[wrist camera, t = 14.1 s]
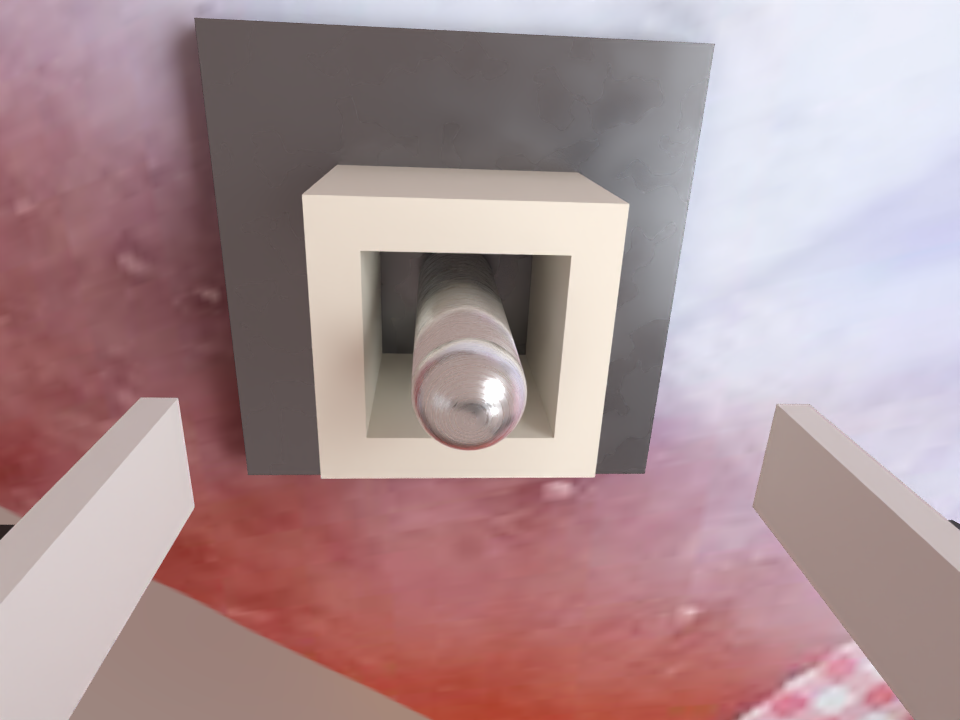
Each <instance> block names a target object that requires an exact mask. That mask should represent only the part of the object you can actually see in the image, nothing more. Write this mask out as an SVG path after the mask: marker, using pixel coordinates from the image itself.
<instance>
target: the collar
mask: <svg viewBox="0 0 960 720" xmlns="http://www.w3.org/2000/svg"><path fill="white" fill-rule="evenodd" d="M302 204H303V218H304V233H305V248H306V263H307V278H308V293H309V308H310V323H311V337H312V352H313V367H314V382H315V397H316V412H317V427H318V442H319V456H320V471H321V479H342V478H553V477H595V472H596V464H597V456H598V448H599V440H600V433H601V425H602V417H603V409H604V401H605V393H606V385H607V377H608V370H609V362H610V354H611V346H612V338H613V330H614V322H615V315H616V307H617V299H618V291H619V283H620V275H621V267H622V259H623V252H624V244H625V236H626V228H627V220H628V212H629V203H627V202H625V201H624V200H622V199H621V198H619V197H617V196H616V195H614V194H612V193H611V192H609V191H607V190H606V189H604V188H603V187H601V186H599V185H598V184H596V183H594V182H593V181H591V180H589V179H588V178H586V177H585V176H583V175H581V174H580V173H578V172H547V171H516V170H485V169H454V168H422V167H391V166H360V165H336V166H335V167H334V168H333V169H332V170H330V171H329V172H328V173H327V174H326V175H324V176H323V177H322V178H321V179H320V180H319V181H317V182H316V183H315V184H314V185H313V186H312V187H310V188H309V189H308V190H307V191H306V192H304V193H303V194H302ZM380 251H389V252H434V253H479V254H525V255H533V258H532V272H531V286H530V300H529V314H528V328H527V342H526V355H518V356H519V359H520V362H521V365H522V368H523V372H524V375H525V378H526V384H527V400H526V406H525V410H524V413H523V415H522V417H521V419H520V421H519V423H518V424H517V426H516V427H515V428H514V430H513V431H512V432H511V433H510V434H509V435H508V436H507V437H506V438H504V439H503V440H502V441H500V442H498V443H497V444H495V445H493V446H490V447H488V448H484V449H480V450H471V451H467V450H458V449H454V448H450V447H448V446H445V445H443V444H441V443H440V442H438V441H436V440H435V439H434V438H432V437H431V436H430V435H429V434H428V433H427V432H426V431H425V430H424V429H423V427H422V426H421V425H420V423H419V421H418V420H417V418H416V415H415V413H414V410H413V407H412V402H411V380H412V366H413V354H394V353H382V317H381V271H380Z"/></svg>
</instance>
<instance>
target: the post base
mask: <svg viewBox="0 0 960 720" xmlns="http://www.w3.org/2000/svg"><path fill="white" fill-rule="evenodd" d="M194 19H195V27H196V36H197V44H198V53H199V61H200V70H201V78H202V87H203V95H204V104H205V112H206V121H207V129H208V138H209V146H210V155H211V163H212V172H213V180H214V189H215V197H216V206H217V214H218V223H219V231H220V240H221V249H222V257H223V266H224V274H225V283H226V291H227V300H228V308H229V317H230V325H231V334H232V342H233V351H234V359H235V368H236V376H237V385H238V393H239V402H240V410H241V419H242V427H243V436H244V444H245V453H246V461H247V470H248V475H321V471H320V456H319V442H318V427H317V412H316V397H315V382H314V367H313V352H312V337H311V323H310V308H309V293H308V278H307V263H306V248H305V233H304V218H303V204H302V194H303V193H304V192H306V191H307V190H308V189H309V188H310V187H312V186H313V185H314V184H315V183H316V182H317V181H319V180H320V179H321V178H322V177H323V176H324V175H326V174H327V173H328V172H329V171H330V170H332V169H333V168H334V167H335V166H336V165H360V166H391V167H422V168H454V169H485V170H516V171H547V172H578V173H580V174H581V175H583V176H585V177H586V178H588V179H589V180H591V181H593V182H594V183H596V184H598V185H599V186H601V187H603V188H604V189H606V190H607V191H609V192H611V193H612V194H614V195H616V196H617V197H619V198H621V199H622V200H624V201H625V202H627V203H629V212H628V220H627V228H626V236H625V244H624V252H623V259H622V267H621V275H620V283H619V291H618V299H617V307H616V315H615V322H614V330H613V338H612V346H611V354H610V362H609V370H608V377H607V385H606V393H605V401H604V409H603V417H602V425H601V433H600V440H599V448H598V456H597V464H596V472H595V474H645V468H646V462H647V456H648V450H649V444H650V438H651V432H652V425H653V419H654V413H655V407H656V401H657V395H658V389H659V382H660V376H661V370H662V364H663V358H664V352H665V346H666V340H667V333H668V327H669V321H670V315H671V309H672V303H673V297H674V291H675V284H676V278H677V272H678V266H679V260H680V254H681V248H682V242H683V235H684V229H685V223H686V217H687V211H688V205H689V199H690V193H691V186H692V180H693V174H694V168H695V162H696V156H697V150H698V143H699V137H700V131H701V125H702V119H703V113H704V107H705V101H706V94H707V88H708V82H709V76H710V70H711V64H712V58H713V52H714V45H715V44H708V43H688V42H668V41H648V40H628V39H608V38H588V37H568V36H547V35H527V34H507V33H487V32H467V31H447V30H427V29H407V28H386V27H366V26H346V25H326V24H306V23H286V22H266V21H246V20H226V19H205V18H194ZM532 258H533V255H525V254H479V253H434V252H389V251H380V271H381V317H382V353H394V354H413V366H412V380H411V402H412V407H413V410H414V413H415V415H416V418H417V420H418V421H419V423H420V425H421V426H422V427H423V429H424V430H425V431H426V432H427V433H428V434H429V435H430V436H431V437H432V438H434V439H435V440H436V441H438V442H440V443H441V444H443V445H445V446H448V447H450V448H454V449H458V450H467V451H471V450H480V449H484V448H488V447H490V446H493V445H495V444H497V443H498V442H500V441H502V440H503V439H504V438H506V437H507V436H508V435H509V434H510V433H511V432H512V431H513V430H514V428H515V427H516V426H517V424H518V423H519V421H520V419H521V417H522V415H523V413H524V410H525V406H526V400H527V384H526V378H525V375H524V372H523V368H522V365H521V362H520V359H519V356H518V355H526V342H527V328H528V314H529V300H530V286H531V272H532Z"/></svg>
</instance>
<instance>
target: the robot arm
mask: <svg viewBox="0 0 960 720" xmlns="http://www.w3.org/2000/svg"><path fill="white" fill-rule="evenodd" d="M194 507H195V506H194V499H193V493H192V486H191V479H190V473H189V466H188V460H187V453H186V447H185V440H184V433H183V427H182V420H181V414H180V407H179V400H178V398H140V399H139V400H138V401H137V402H136V403H135V404H134V405H133V406H132V407H131V408H130V409H129V410H128V411H127V412H126V413H125V414H124V415H123V416H122V417H121V418H120V419H119V420H118V421H117V422H116V423H115V424H114V425H113V426H112V427H111V428H110V429H109V430H108V431H107V432H106V433H105V434H104V435H103V436H102V437H101V438H100V439H99V440H98V441H97V442H96V443H95V445H94V446H93V447H92V448H91V449H90V450H89V451H88V452H87V453H86V454H85V455H84V456H83V457H82V458H81V459H80V460H79V461H78V462H77V463H76V464H75V465H74V466H73V467H72V468H71V469H70V470H69V471H68V472H67V473H66V474H65V475H64V476H63V477H62V478H61V479H60V480H59V481H58V482H57V483H56V484H55V485H54V486H53V487H52V488H51V489H50V490H49V491H48V492H47V493H46V494H45V495H44V496H43V497H42V498H41V499H40V500H39V501H38V502H37V503H36V504H35V505H34V506H33V507H32V508H31V509H30V510H29V511H28V512H27V513H26V514H25V515H24V516H23V518H22V519H21V520H20V521H19V522H18V523H17V524H16V525H0V720H69V718H70V716H71V715H72V713H73V711H74V710H75V708H76V706H77V705H78V703H79V701H80V699H81V698H82V696H83V694H84V693H85V691H86V689H87V687H88V686H89V684H90V683H91V681H92V679H93V678H94V676H95V674H96V673H97V671H98V669H99V667H100V666H101V664H102V662H103V661H104V659H105V657H106V656H107V654H108V652H109V650H110V649H111V647H112V645H113V644H114V642H115V641H116V639H117V637H118V635H119V634H120V632H121V630H122V629H123V627H124V625H125V624H126V622H127V620H128V618H129V617H130V615H131V614H132V612H133V610H134V608H135V607H136V605H137V603H138V602H139V600H140V598H141V597H142V595H143V593H144V592H145V590H146V588H147V587H148V585H149V583H150V582H151V580H152V578H153V577H154V575H155V573H156V571H157V570H158V568H159V566H160V565H161V563H162V561H163V560H164V558H165V556H166V555H167V553H168V551H169V550H170V548H171V546H172V545H173V543H174V541H175V539H176V538H177V536H178V534H179V533H180V531H181V529H182V528H183V526H184V524H185V523H186V521H187V519H188V518H189V516H190V514H191V513H192V511H193V509H194ZM753 508H754V509H755V510H756V512H757V513H758V514H759V516H760V517H761V518H762V520H763V521H764V522H765V524H766V525H767V526H768V528H769V529H770V530H771V532H772V533H773V534H774V536H775V537H776V538H777V539H778V541H779V542H780V543H781V545H782V546H783V547H784V549H785V550H786V551H787V553H788V554H789V555H790V557H791V558H792V559H793V561H794V562H795V563H796V564H797V566H798V567H799V568H800V570H801V571H802V572H803V574H804V575H805V576H806V578H807V579H808V580H809V582H810V583H811V584H812V586H813V587H814V588H815V590H816V591H817V592H818V593H819V595H820V596H821V597H822V599H823V600H824V601H825V603H826V604H827V605H828V607H829V608H830V609H831V611H832V612H833V613H834V615H835V616H836V617H837V619H838V620H839V621H840V622H841V624H842V625H843V626H844V628H845V629H846V630H847V632H848V633H849V634H850V636H851V637H852V638H853V640H854V641H855V642H856V644H857V645H858V646H859V648H860V649H861V650H862V651H863V653H864V654H865V655H866V657H867V658H868V659H869V661H870V662H871V663H872V665H873V666H874V667H875V669H876V670H877V671H878V673H879V674H880V675H881V676H882V678H883V679H884V680H885V682H886V683H887V684H888V686H889V687H890V688H891V690H892V691H893V692H894V694H895V695H896V696H897V698H898V699H899V700H900V702H901V703H902V704H903V705H904V707H905V708H906V709H907V711H908V712H909V713H910V715H911V716H912V717H913V719H914V720H960V524H959V523H957V522H955V521H953V520H947V519H946V518H944V517H943V516H942V515H941V514H940V513H938V512H937V511H936V510H935V509H934V508H932V507H931V506H930V505H929V504H928V503H927V502H925V501H924V500H923V499H922V498H921V497H919V496H918V495H917V494H916V493H915V492H913V491H912V490H911V489H910V488H909V487H907V486H906V485H905V484H904V483H903V482H901V481H900V480H899V479H898V478H897V477H896V476H894V475H893V474H892V473H891V472H890V471H888V470H887V469H886V468H885V467H884V466H882V465H881V464H880V463H879V462H878V461H876V460H875V459H874V458H873V457H872V456H870V455H869V454H868V453H867V452H866V451H865V450H863V449H862V448H861V447H860V446H859V445H857V444H856V443H855V442H854V441H853V440H851V439H850V438H849V437H848V436H847V435H845V434H844V433H843V432H842V431H841V430H839V429H838V428H837V427H836V426H835V425H833V424H832V423H831V422H830V421H829V420H828V419H826V418H825V417H824V416H823V415H822V414H820V413H819V412H818V411H817V410H816V409H814V408H813V407H812V406H811V405H810V404H777V405H776V409H775V413H774V417H773V422H772V426H771V430H770V434H769V439H768V443H767V447H766V451H765V456H764V460H763V464H762V468H761V473H760V477H759V481H758V485H757V490H756V494H755V498H754V502H753Z"/></svg>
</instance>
